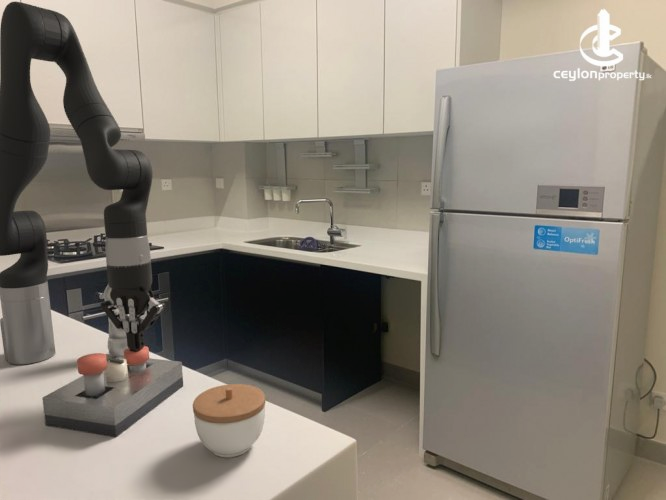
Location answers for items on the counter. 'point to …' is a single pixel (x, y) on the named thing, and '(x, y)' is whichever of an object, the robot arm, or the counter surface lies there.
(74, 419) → the panel
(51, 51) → the robot arm
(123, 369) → the dial
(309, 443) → the counter surface
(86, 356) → the knob outer
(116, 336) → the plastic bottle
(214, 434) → the lidded jar
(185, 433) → the counter surface
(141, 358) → the knob inner
